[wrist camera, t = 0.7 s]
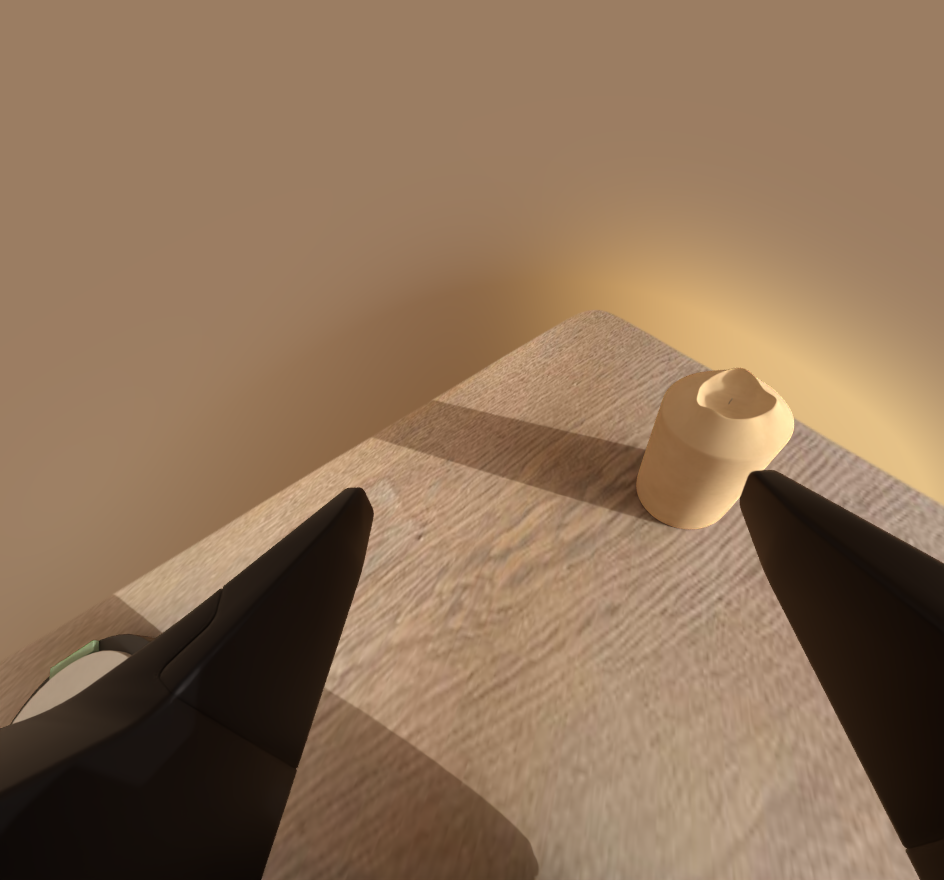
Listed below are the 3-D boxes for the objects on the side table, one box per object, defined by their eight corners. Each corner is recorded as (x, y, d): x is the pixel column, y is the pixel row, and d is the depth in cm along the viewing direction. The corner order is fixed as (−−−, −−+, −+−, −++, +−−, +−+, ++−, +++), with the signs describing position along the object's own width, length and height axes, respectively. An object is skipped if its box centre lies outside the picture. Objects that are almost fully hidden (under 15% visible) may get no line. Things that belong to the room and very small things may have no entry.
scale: (204, 767, 21) (161, 775, 19) (6, 921, 19) (-69, 951, 17) (183, 605, 27) (149, 597, 25) (32, 708, 25) (-20, 709, 23)
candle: (651, 445, 27) (688, 338, 19) (737, 475, 24) (822, 367, 16) (622, 506, 25) (651, 414, 17) (713, 546, 22) (798, 461, 14)
